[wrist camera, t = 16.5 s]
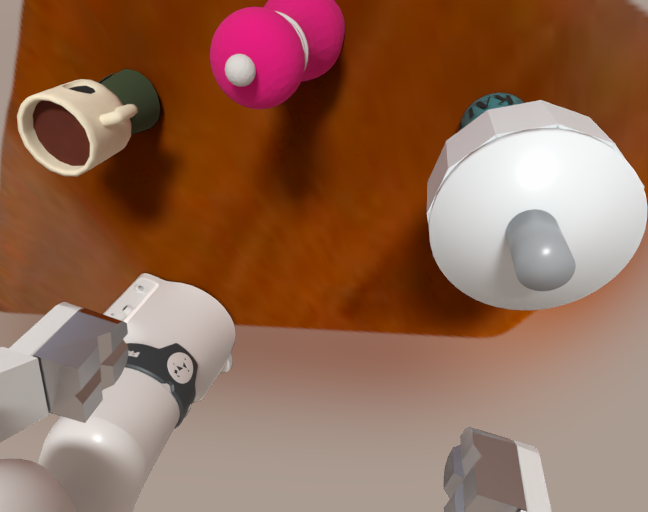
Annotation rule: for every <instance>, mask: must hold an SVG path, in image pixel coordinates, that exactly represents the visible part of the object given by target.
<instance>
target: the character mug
mask: <svg viewBox="0 0 648 512" xmlns="http://www.w3.org/2000/svg"><path fill="white" fill-rule="evenodd" d="M114 73H115V72H114ZM112 74H113V73H112ZM112 74H110V75H109V76H107V77H105V78H103V79H102V80H101V81H99V82H98V83H97V82H95V81H92V80H86V79H80V80H75V81H72V82H69V83H66V84H62V85H60V86H57V87H55V88H52V89H49V90H46V91H43V92H40V93H37V94H34V95H32V96H30V97H28V98H26V99H25V100H24V101H23V102H22V103H21V105H20V108H19V111H18V114H17V121H18V131H19V133H20V136H21V138H22V141H23V143H24V146H25V147H26V148H27V150H28V151H29V152H30V153H31V155H32V156H33V157H34V158H35V160H36V161H38V162H39V163H40V164H42V165H43V166H44V167H46V168H47V169H48V170H50V171H52V172H55V173H58V174H60V175H63V176H79V175H81V174H82V173H84V172H86V171H88V170H90V169H92V168H93V167H95V166H97V165H98V164H100V163H101V162H103V161H105V160H106V159H108V158H110V157H111V156H113V155H114V154H116V153H118V152H119V151H121V150H123V149H124V148H125V147H126V145H127V143H128V141H129V139H130V137H131V135H132V134H135V133H138V132H141V131H144V130H147V129H149V128H151V127H153V125H154V124H155V123H156V122H157V121H158V120H159V114H160V104H159V100H158V95H157V93H156V91H155V89H154V87H153V85H152V84H151V82H150V80H148V79H147V78H146V77H144V76H143V75H142V74H140V73H139V72H137V71H133V70H129V69H124V70H122V71H120V72H118V73H116V74H114V75H112Z"/></svg>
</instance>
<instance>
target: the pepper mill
mask: <svg viewBox="0 0 648 512" xmlns="http://www.w3.org/2000/svg"><path fill="white" fill-rule="evenodd" d="M344 36H345V22H344V18H343V15H342V12H341V10H340V8H339V6H338V5H337V4H336V2H335V1H334V0H269V1H268V2H267V3H266V4H265V6H264V7H263V8H261V7H247V8H244V9H241V10H238V11H236V12H234V13H232V14H231V15H229V16H228V17H227V18H226V19H224V20H223V22H222V23H221V24H220V25H219V27H218V28H217V30H216V32H215V33H214V37H213V40H212V43H211V49H210V63H211V67H212V71H213V74H214V77H215V79H216V81H217V83H218V85H219V86H220V88H221V89H222V90H223V91H224V93H225V94H226V95H227V96H228V97H229V98H231V99H232V100H233V101H235V102H237V103H238V104H240V105H243V106H245V107H249V108H253V109H266V108H271V107H275V106H277V105H279V104H281V103H283V102H284V101H286V100H287V99H289V98H290V97H291V95H292V94H293V93H294V92H295V91H296V90H297V88H298V86H299V85H300V83H301V81H308V80H312V79H315V78H317V77H319V76H321V75H323V74H324V73H326V72H327V71H328V70H329V69H330V68H331V67H332V66H333V65H334V64H335V62H336V60H337V59H338V57H339V54H340V52H341V49H342V45H343V40H344Z"/></svg>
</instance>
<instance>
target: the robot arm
mask: <svg viewBox="0 0 648 512" xmlns="http://www.w3.org/2000/svg"><path fill="white" fill-rule="evenodd" d="M235 338H236V332H235V327H234V323H233V321H232V319H231V317H230V315H229V313H228V312H227V311H226V309H225V308H224V307H223V306H222V305H221V304H220V303H219V302H218V301H217V300H216V299H215V298H213V297H212V296H211V295H209V294H208V293H206V292H204V291H203V290H201V289H198V288H196V287H194V286H191V285H187V284H183V283H177V282H169V281H164V280H162V279H160V278H158V277H156V276H153V275H151V274H147V273H144V274H141V275H140V276H139V277H138V278H137V279H136V280H135V281H134V282H133V283H132V284H131V285H130V286H129V287H128V288H127V290H126V291H125V292H124V293H123V294H122V295H121V296H120V297H119V298H118V299H117V300H116V301H115V302H114V303H113V304H112V305H111V306H110V307H109V308H108V309H107V310H106V311H105V312H104V313H103V314H100V313H97V312H94V311H91V310H88V309H85V308H82V307H79V306H76V305H72V304H69V303H66V302H63V303H60V304H58V305H56V306H55V307H54V308H53V309H52V310H51V311H49V312H48V313H47V314H46V315H45V316H44V317H43V318H42V319H41V320H40V321H39V322H37V324H35V325H34V326H33V327H32V328H31V329H30V330H29V331H28V332H27V333H25V334H24V335H23V336H22V337H21V338H20V339H19V340H18V341H16V342H15V343H14V344H13V345H12V346H11V347H10V348H5V347H1V348H0V442H2V441H4V440H6V439H7V438H9V437H11V436H13V435H14V434H16V433H18V432H20V431H21V430H23V429H25V428H27V427H28V426H30V425H32V424H34V423H36V422H37V421H39V420H41V419H43V418H45V417H46V416H48V415H49V413H52V414H55V415H59V416H61V417H60V418H59V420H58V421H57V422H56V423H55V424H54V426H53V427H52V428H51V430H50V432H49V434H48V435H47V437H46V439H45V442H44V445H43V448H42V451H41V455H40V458H39V460H38V463H35V462H32V461H28V460H23V459H0V512H133V509H134V506H135V504H136V502H137V499H138V497H139V495H140V492H141V490H142V488H143V486H144V483H145V481H146V480H147V478H148V476H149V474H150V472H151V470H152V468H153V466H154V464H155V463H156V461H157V459H158V457H159V455H160V453H161V451H162V450H163V448H164V446H165V444H166V442H167V440H168V439H169V437H170V435H171V433H172V432H173V430H174V429H175V428H176V427H177V426H179V425H180V423H181V422H182V421H183V419H184V418H185V417H186V416H187V414H188V412H189V410H190V408H191V405H192V403H194V402H197V401H201V400H202V399H203V398H204V397H205V395H206V394H207V392H208V391H209V389H210V387H211V386H212V384H213V383H214V381H215V380H216V378H217V377H218V375H219V374H220V373H225V372H228V371H229V370H230V368H231V367H232V364H233V362H232V356H231V351H232V348H233V346H234V343H235ZM444 490H445V492H446V493H447V495H448V496H449V498H450V500H449V502H448V503H447V505H446V506H445V507H444V512H552V510H551V506H550V502H549V496H548V492H547V487H546V483H545V478H544V474H543V469H542V464H541V460H540V455H539V452H538V450H537V449H536V447H533V446H530V445H527V444H524V443H520V442H517V441H514V440H511V439H508V438H505V437H502V436H498V435H495V434H491V433H488V432H484V431H481V430H478V429H474V428H471V427H468V428H466V429H465V430H464V431H463V433H462V435H461V445H459V446H456V447H453V449H452V450H451V452H450V454H449V456H448V459H447V462H446V465H445V471H444Z"/></svg>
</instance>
